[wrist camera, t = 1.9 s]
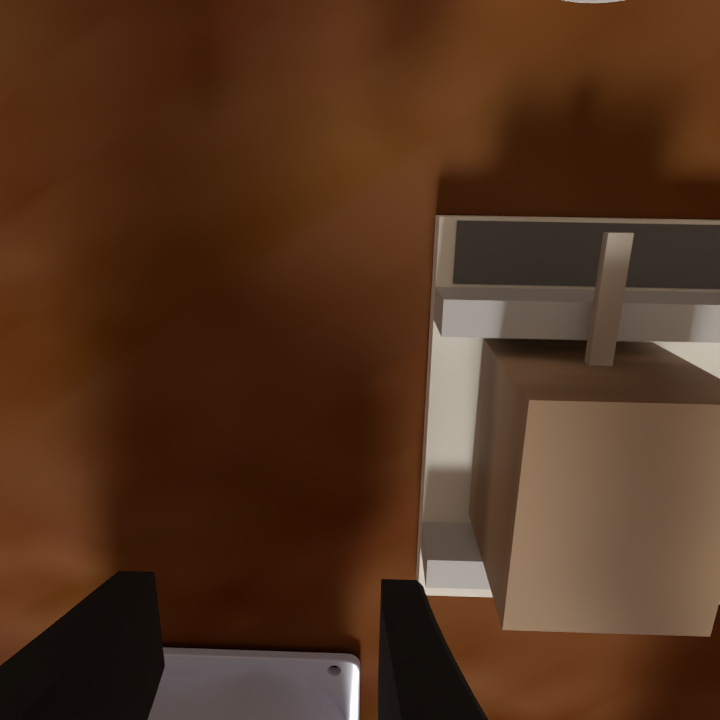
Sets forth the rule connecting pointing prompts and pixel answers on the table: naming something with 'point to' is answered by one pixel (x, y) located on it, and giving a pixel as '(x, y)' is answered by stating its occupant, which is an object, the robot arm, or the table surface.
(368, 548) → the table surface
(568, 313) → the gauge base
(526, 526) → the gauge slider
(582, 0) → the white stepped post
